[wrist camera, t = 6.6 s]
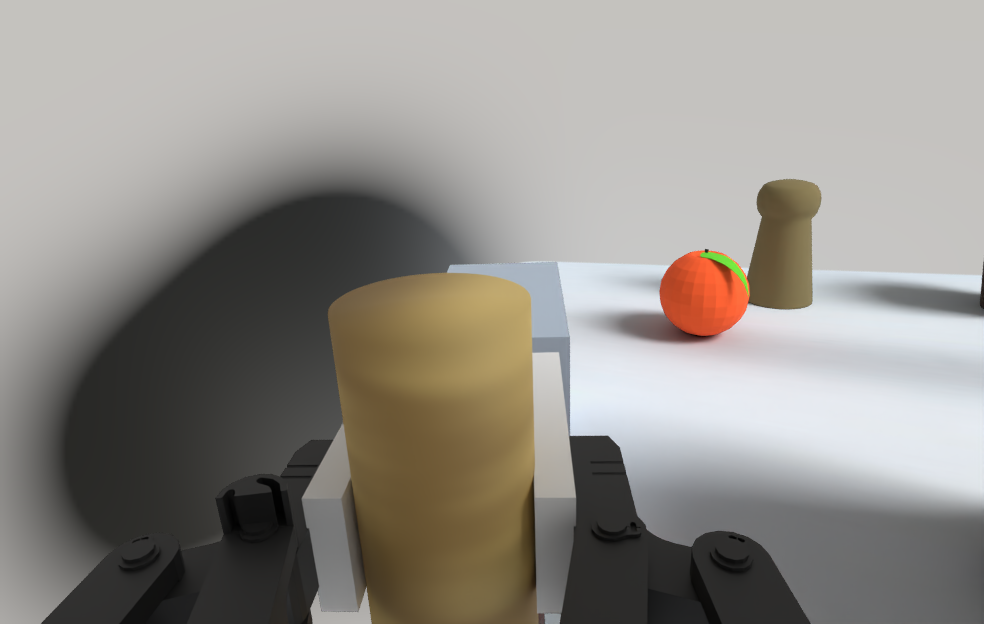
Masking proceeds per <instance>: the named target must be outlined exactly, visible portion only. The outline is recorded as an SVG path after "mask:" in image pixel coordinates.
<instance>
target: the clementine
mask: <svg viewBox="0 0 984 624" xmlns="http://www.w3.org/2000/svg"><path fill="white" fill-rule="evenodd" d="M749 296H750V292H749V283H748V280H747V277H746V275H745V273H744V272H743V270H742V269H741V267H740V266H739V265H738V264H737V263H736V262H735V261H734V260H732V259H731V258H730V257H728V256H727V255H725V254H723V253H719V252H715V251H709V250H708V249H705V251H694V252H690V253H688V254H686V255H684V256H682V257H681V258H679V259H678V260H676V261H675V262H674V263H673V264H672V265H671V266H670V267H669V268H668V269H667V271H666V273H665V275H664V277H663V279H662V281H661V286H660V301H661V305H662V308H663V310H664V313H665V315H666V316H667V317H668V319H669V320H670V321H671V322H672V323H673V324H674V325H675V326H676V327H678V328H679V329H681V330H682V331H684V332H687V333H690V334H694V335H700V336H708V335H716V334H719V333H721V332H723V331H726V330H728V329H730V328H731V327H732V326H733V325H734V324H736V323H737V322H738V321H739V320H740V319H741V317H742V316H743V314H744V312H745V311H746V308H747V304H748V300H749Z"/></svg>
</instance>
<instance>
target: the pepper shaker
mask: <svg viewBox="0 0 984 624" xmlns="http://www.w3.org/2000/svg"><path fill="white" fill-rule="evenodd" d="M820 204H821V193H820V190H819V188H818V186H817V185H815V184H814V183H811V182H807V181H803V180H796V179H786V180H785V179H784V180H776V181H772V182H768V183H766V184H764V185H763V187H762V188H761V190H760V191H759V193H758V196H757V209H758V211H759V213H760V215H761V216H762V219H761V223H760V227H759V231H758V235H757V240H756V243H755V247H754V252H753V255H752V260H751V263H750V267H749V271H748V275H747V280H748V283H749V292H750V296H749V300H748V302H749V303H752V304H755V305H758V306H762V307H767V308H775V309H798V308H803V307H807V306H809V305H811V304H812V231H811V230H812V226H811V219H812V218H813V217H814V216H815V215H816V213H817V212H818V209H819V207H820Z"/></svg>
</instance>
